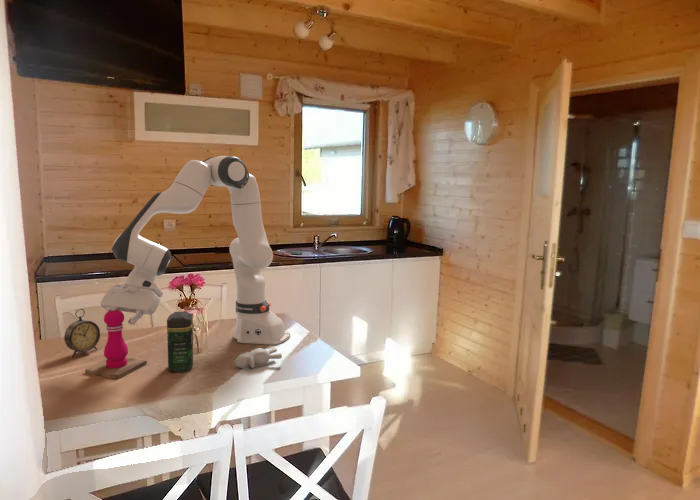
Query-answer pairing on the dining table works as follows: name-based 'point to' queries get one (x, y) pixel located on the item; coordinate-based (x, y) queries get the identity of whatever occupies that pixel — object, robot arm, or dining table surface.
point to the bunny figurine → (256, 358)
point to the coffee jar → (180, 341)
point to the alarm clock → (82, 335)
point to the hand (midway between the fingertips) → (119, 322)
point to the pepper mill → (115, 339)
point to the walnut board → (116, 372)
